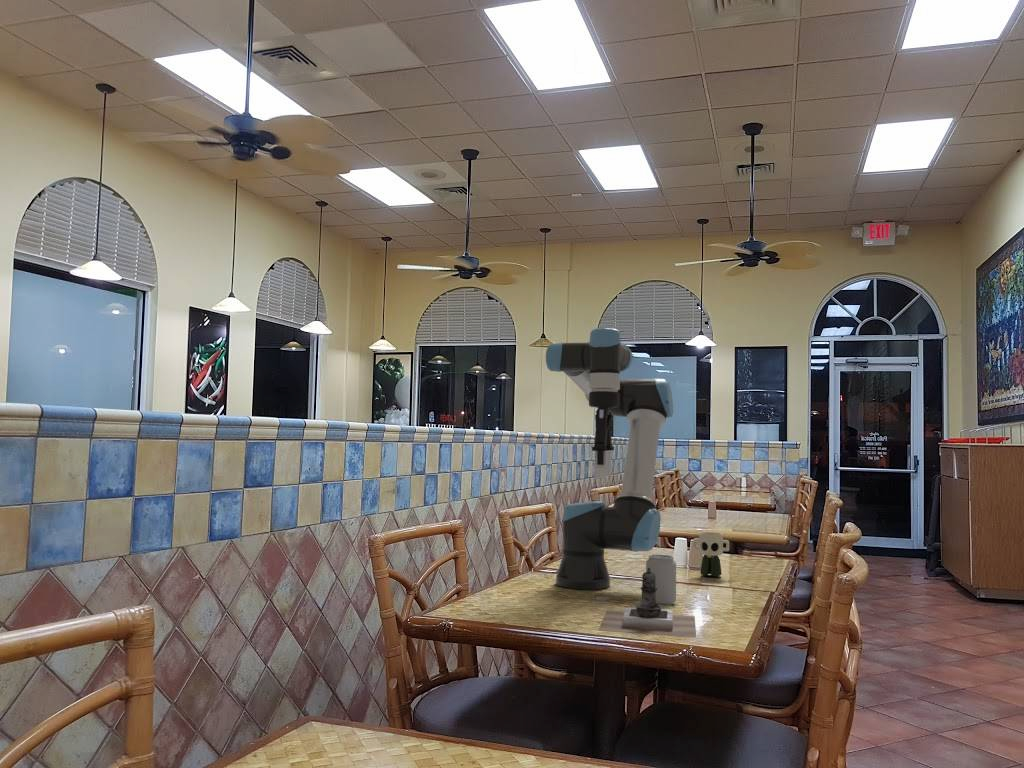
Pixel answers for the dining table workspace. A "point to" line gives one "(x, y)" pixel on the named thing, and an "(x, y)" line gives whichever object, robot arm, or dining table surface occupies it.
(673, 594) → the can
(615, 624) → the walnut plate
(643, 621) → the steel collar
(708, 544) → the character mug
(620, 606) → the dining table surface
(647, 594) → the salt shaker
